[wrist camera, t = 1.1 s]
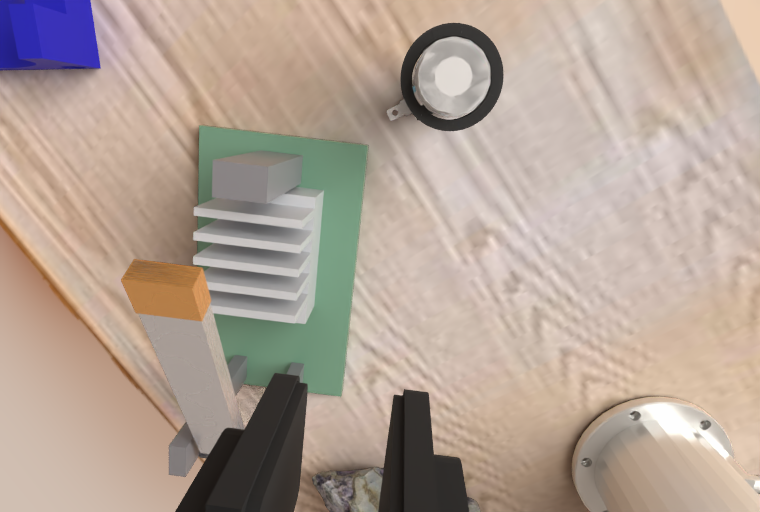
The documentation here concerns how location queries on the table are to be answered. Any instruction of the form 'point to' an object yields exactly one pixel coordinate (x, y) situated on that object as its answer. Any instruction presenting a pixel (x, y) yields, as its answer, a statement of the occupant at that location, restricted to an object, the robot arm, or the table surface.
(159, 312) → the hinged grey bar
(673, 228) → the table surface
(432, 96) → the push button
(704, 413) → the robot arm
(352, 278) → the board
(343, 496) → the mineral rock
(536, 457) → the table surface
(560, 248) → the table surface
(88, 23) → the blue cradle bracket
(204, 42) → the table surface
